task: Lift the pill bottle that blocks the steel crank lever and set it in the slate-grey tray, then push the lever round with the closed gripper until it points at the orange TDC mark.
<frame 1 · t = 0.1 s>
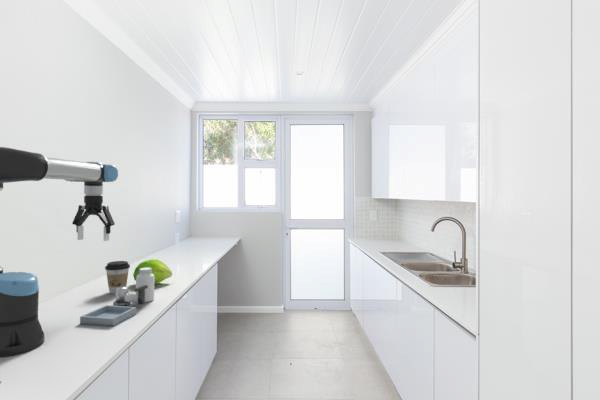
hand: (93, 240, 161), 28 cm above the worktop, fingers open, 13 cm apart
coffee cup: (117, 292, 174), on the worktop
lettuce: (152, 284, 190), on the worktop
crank: (130, 293, 153), point 5 cm above the worktop, hinge at -100.0°
pill bottle: (145, 300, 161), on the worktop
tray: (109, 318, 137), on the worktop
crank base: (122, 304, 155), on the worktop
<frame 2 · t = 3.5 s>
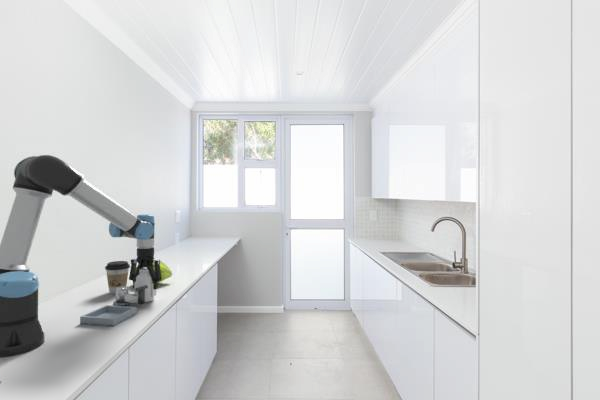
hand: (145, 295, 161), 2 cm above the worktop, fingers closed on pill bottle, 8 cm apart
pill bottle: (145, 300, 161), on the worktop, touching gripper
everything else where it was.
when the fingers open (5 cm above the worktop, at t = 8.4 s): pill bottle drops 2 cm, resting on tray.
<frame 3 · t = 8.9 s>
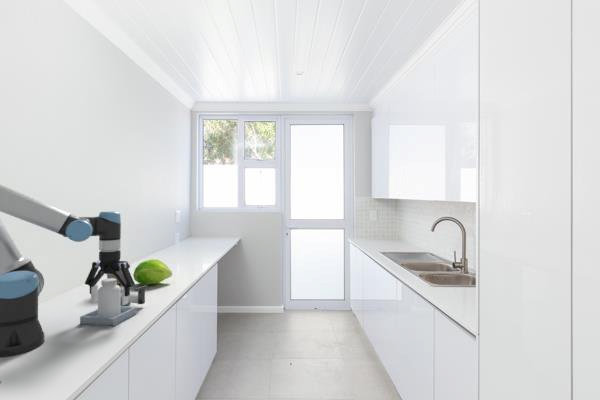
hand: (109, 303, 137), 6 cm above the worktop, fingers open, 13 cm apart
pill bottle: (109, 317, 137), resting on tray
everything else where it was.
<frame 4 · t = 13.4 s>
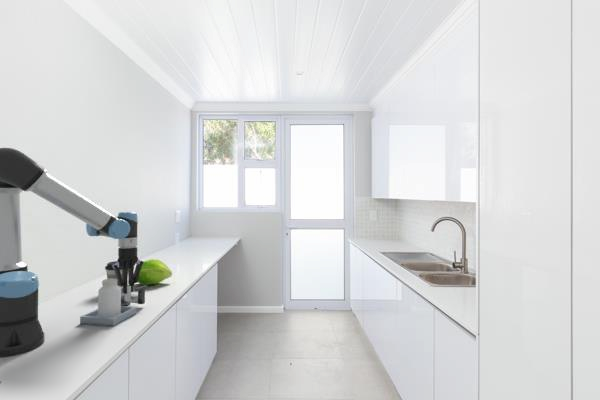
hand: (127, 300, 151), 3 cm above the worktop, fingers closed
crank: (130, 293, 153), point 5 cm above the worktop, hinge at -100.0°, touching gripper
everything else where it was.
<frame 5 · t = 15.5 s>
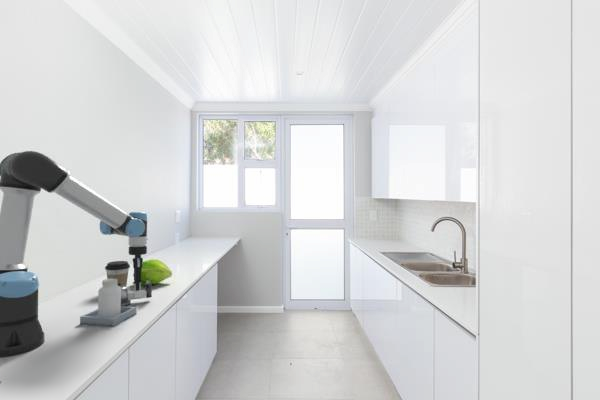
hand: (137, 297, 157), 3 cm above the worktop, fingers closed
crank: (134, 291, 157), point 5 cm above the worktop, hinge at -49.9°, touching gripper
everything else where it was.
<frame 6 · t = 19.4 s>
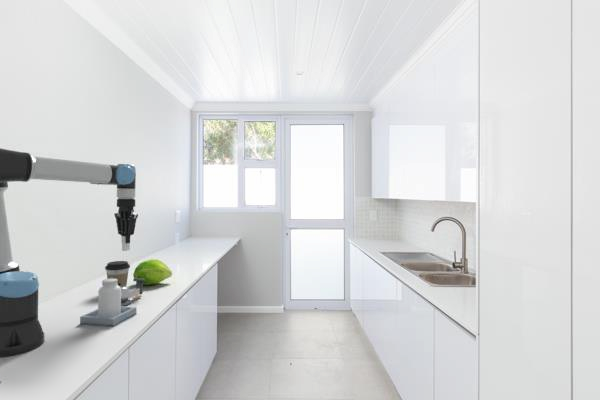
hand: (125, 250, 155), 24 cm above the worktop, fingers closed
crank: (130, 289, 160), point 5 cm above the worktop, hinge at -6.2°
everything else where it was.
at the end: pill bottle inside the target area on the tray (0.1 cm from its centre), point 0.4 cm above the tray's base; pill bottle tilted 0°; crank at -6° (first picture: -100°) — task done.
